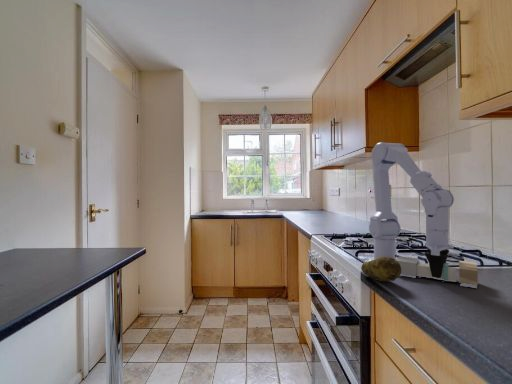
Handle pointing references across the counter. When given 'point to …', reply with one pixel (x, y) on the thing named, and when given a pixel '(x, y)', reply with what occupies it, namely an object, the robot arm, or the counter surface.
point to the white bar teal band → (447, 271)
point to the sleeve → (408, 265)
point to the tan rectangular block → (468, 272)
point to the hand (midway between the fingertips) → (437, 274)
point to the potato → (382, 269)
